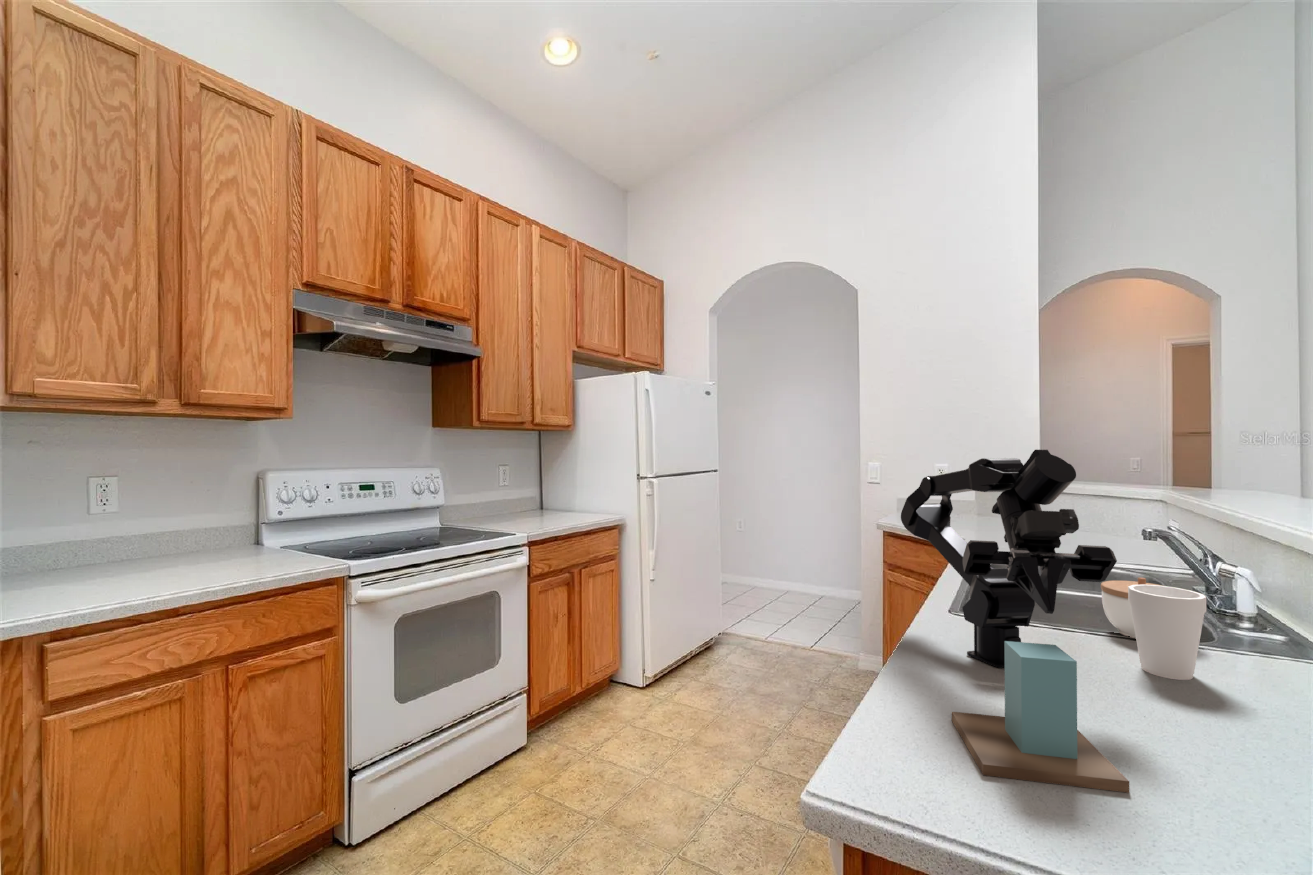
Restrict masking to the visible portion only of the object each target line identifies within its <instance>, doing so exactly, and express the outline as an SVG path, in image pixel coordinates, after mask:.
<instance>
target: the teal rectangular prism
mask: <svg viewBox="0 0 1313 875" xmlns="http://www.w3.org/2000/svg"><path fill="white" fill-rule="evenodd" d="M1004 645H1005V667H1004V717H1005V730H1006V732H1007V733H1008V734H1009V736H1010V737H1011V738H1012V740H1013V741H1014V743H1015V744H1016V745H1017V747H1018V748H1019V750H1020V751H1021V752H1022V753H1028V754H1037V755H1045V756H1054V757H1063V758H1071V759H1077V730H1078V672H1077V671H1078V670H1077V669H1078V665H1077V664H1078V663H1077V660H1076V659H1074V658H1073V657H1072V656H1071V655H1069V654H1068V653H1067V652H1065V651H1064V650H1063V649H1061V647H1059V646H1058V645H1056V644H1047V643H1036V642H1023V641H1021V642H1011V641H1004Z"/></svg>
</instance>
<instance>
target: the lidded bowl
mask: <svg viewBox="0 0 1313 875" xmlns="http://www.w3.org/2000/svg"><path fill="white" fill-rule="evenodd" d="M1142 584H1145V585H1158V584H1157V583H1152V582H1147V578H1145V577H1137V581H1134V580H1133V581H1132V580H1105V581H1102V582H1100V589H1101V603H1102V607H1103V612H1104V614H1105V616H1106V618H1107V619H1108V621H1109V622H1110V624H1112V626H1113V627H1114V628H1116V629H1117V630H1118V633H1119V634H1121V635H1122V636H1125V637H1128V636H1130V637H1129V638H1132V639H1136V635H1135V629H1134V623H1133V617H1132V611H1131V605H1130V602H1129V601H1128V586H1131V585H1142ZM1159 585H1160V586H1164V585H1162V584H1159Z"/></svg>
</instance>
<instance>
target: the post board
mask: <svg viewBox="0 0 1313 875" xmlns="http://www.w3.org/2000/svg"><path fill="white" fill-rule="evenodd" d="M951 722H952V723H953V725H954V727H955V729H956V731H957V732H958V734H959V736H960V737H961V739H962V741H963V743H964V744H965V746H966V748H967V750H968V751H969V754H970V755H971V756H972V758H973V760H974V762H975V763H976V765H977V767H978V769H979V770H980V772H981V774H982V776H987V777H994V778H995V777H997V778H1004V779H1013V780H1020V781H1021V780H1022V781H1030V782H1036V783H1043V784H1044V783H1047V784H1053V785H1055V784H1056V785H1062V786H1070V787H1078V788H1079V787H1080V788H1087V789H1095V790H1104V791H1112V792H1118V793H1119V792H1121V793H1128V794H1129V793H1130V780H1128V779H1127V777H1125V775H1123V773H1121V771H1120V770H1119V769H1117V767H1116V766H1115V765H1114V764H1113V763H1112V762H1110V760H1108V758H1107V757H1106V756H1104V755H1103V753H1102V752H1101V751H1099V749H1098V748H1096V746H1094V744H1093V743H1092V742H1091V741H1089V739H1088V738H1087V737H1086V736H1085V735H1083V733H1082V732H1081V731H1079V729H1077V759H1071V758H1063V757H1054V756H1045V755H1037V754H1028V753H1022V752H1021V751H1020V750H1019V748H1018V747H1017V745H1016V744H1015V743H1014V741H1013V740H1012V738H1011V737H1010V736H1009V734H1008V733H1007V732H1006V730H1005V716H1002V715H1001V716H1000V715H992V714H991V715H989V714H981V713H969V712H961V711H951Z"/></svg>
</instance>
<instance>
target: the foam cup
mask: <svg viewBox="0 0 1313 875" xmlns="http://www.w3.org/2000/svg"><path fill="white" fill-rule="evenodd" d="M1160 585H1161V584H1157V585H1145V584H1142V585H1131V586H1128V601H1129V602H1130V605H1131V611H1132V617H1133V623H1134V629H1135V635H1136V646H1137V653H1138V658H1139V663H1140V668H1141V669H1142V670H1143V671H1145V672H1147V674H1151V675H1154V676H1157V677H1161V678H1165V679H1169V680H1170V679H1171V680H1179V681H1188V680H1189V681H1190V680H1192V679H1194V674H1195V670H1196V665H1197V658H1198V653H1199V648H1200V641H1201V640H1200V639H1201V635H1202V629H1203V624H1204V619H1205V613H1207V596H1206V595H1205V594H1203V593H1200V592H1197V591H1194V590H1190V589H1185V588H1179V587H1174V586H1166V585H1163V586H1160Z"/></svg>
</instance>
